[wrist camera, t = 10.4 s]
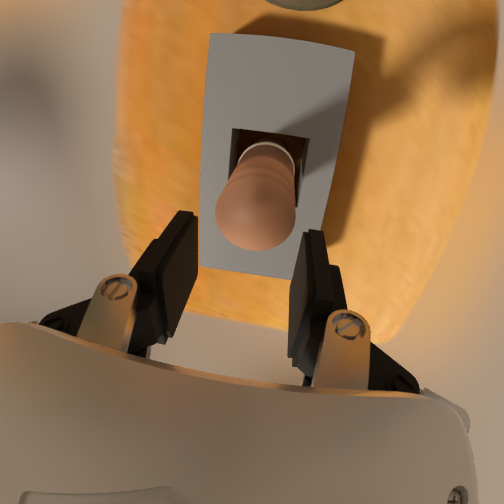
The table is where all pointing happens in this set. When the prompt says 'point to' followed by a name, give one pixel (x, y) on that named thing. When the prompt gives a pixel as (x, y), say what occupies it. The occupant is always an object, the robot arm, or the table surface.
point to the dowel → (259, 197)
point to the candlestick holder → (304, 4)
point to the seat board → (275, 121)
